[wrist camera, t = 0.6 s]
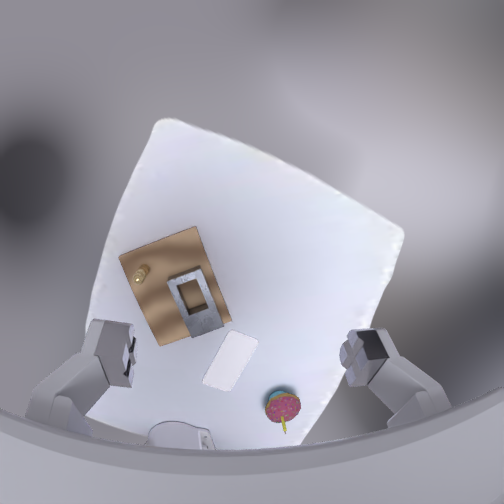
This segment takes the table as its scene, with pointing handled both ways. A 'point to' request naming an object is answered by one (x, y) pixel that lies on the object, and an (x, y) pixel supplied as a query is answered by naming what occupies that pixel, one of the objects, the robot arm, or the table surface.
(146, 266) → the post
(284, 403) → the cupcake
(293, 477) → the robot arm
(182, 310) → the steel link
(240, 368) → the smartphone
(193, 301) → the oak board
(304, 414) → the table surface
